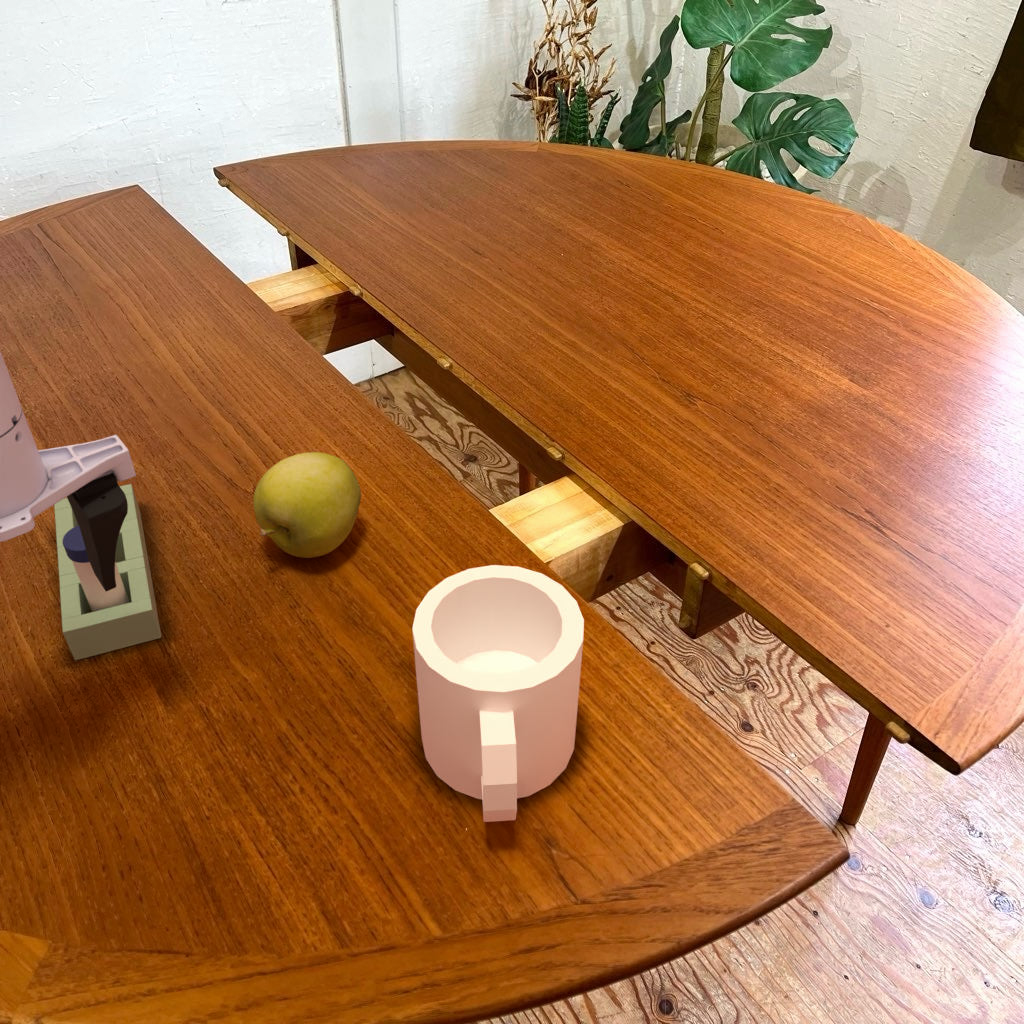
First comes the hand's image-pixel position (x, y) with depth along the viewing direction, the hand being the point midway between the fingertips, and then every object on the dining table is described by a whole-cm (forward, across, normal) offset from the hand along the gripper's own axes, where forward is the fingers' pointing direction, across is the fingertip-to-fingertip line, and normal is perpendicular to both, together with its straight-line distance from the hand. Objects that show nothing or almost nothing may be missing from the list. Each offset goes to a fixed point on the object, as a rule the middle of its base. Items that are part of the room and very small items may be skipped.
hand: (42, 607), depth 58 cm
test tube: (+10, +5, +7) cm, 13 cm away
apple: (+10, +20, +6) cm, 24 cm away
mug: (+10, +20, -19) cm, 30 cm away
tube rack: (+10, +6, +12) cm, 17 cm away
